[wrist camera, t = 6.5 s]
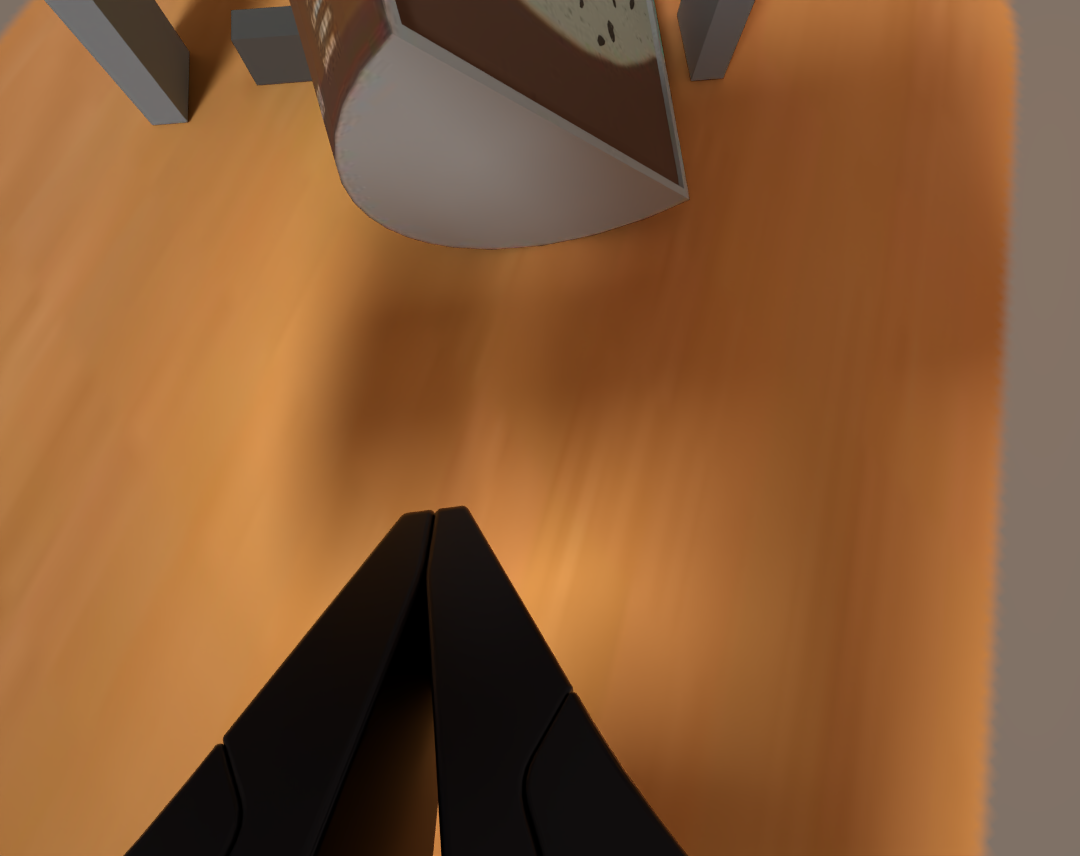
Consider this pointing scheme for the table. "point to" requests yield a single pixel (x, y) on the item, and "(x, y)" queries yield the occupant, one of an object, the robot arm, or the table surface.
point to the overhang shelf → (298, 46)
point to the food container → (496, 115)
